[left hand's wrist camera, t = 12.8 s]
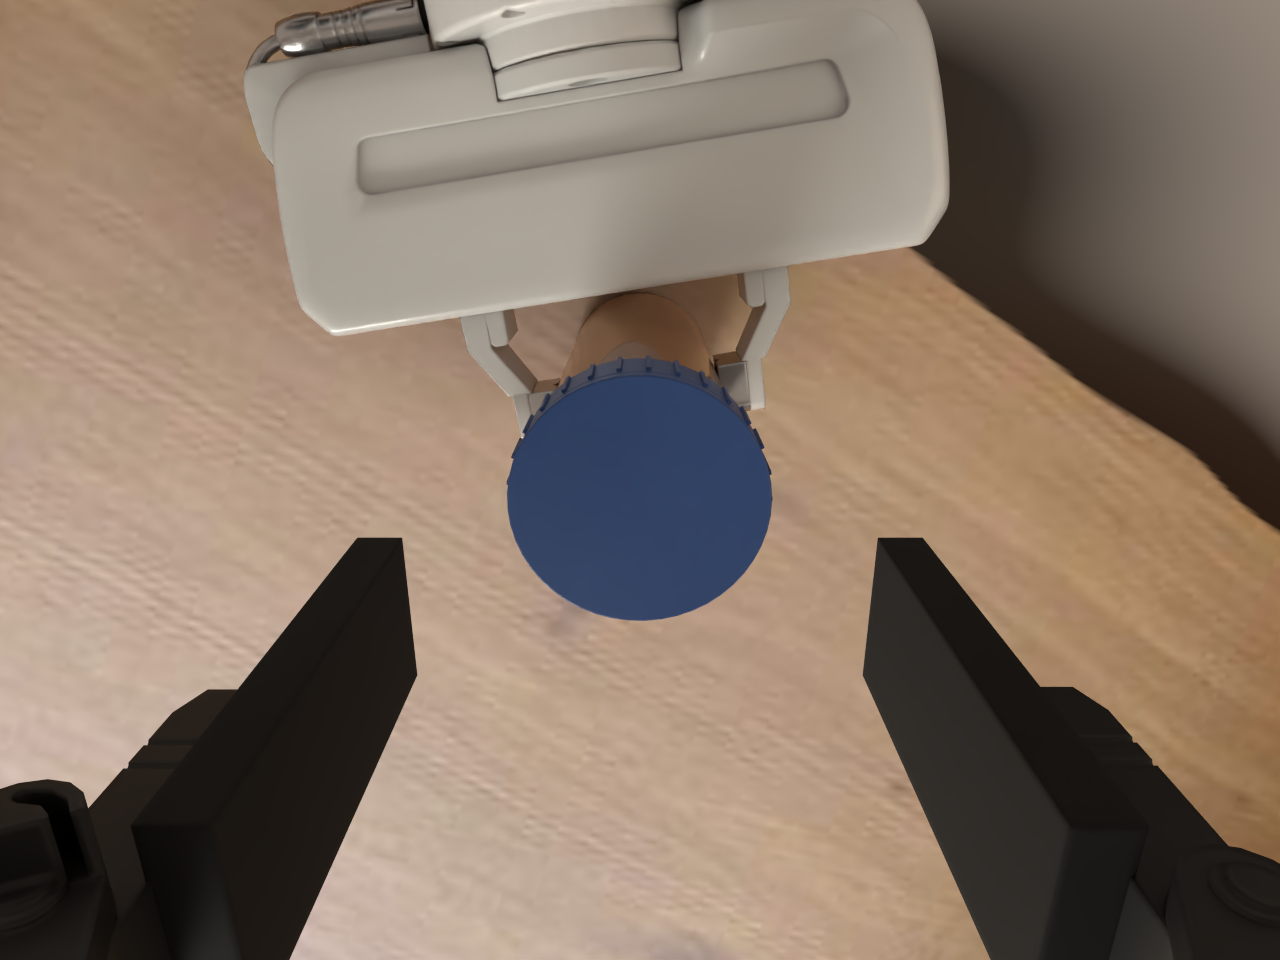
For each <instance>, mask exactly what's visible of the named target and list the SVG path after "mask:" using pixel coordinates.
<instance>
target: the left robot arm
mask: <svg viewBox="0 0 1280 960" xmlns="http://www.w3.org/2000/svg"><path fill="white" fill-rule="evenodd" d="M416 677H417V669H416V660H415V651H414V642H413V633H412V624H411V615H410V606H409V596H408V587H407V578H406V569H405V560H404V551H403V542H402V538H357V539H356V540H355V541H354V543H353V544H352V545H351V547H350V548H349V549H348V550H347V552H346V553H345V554H344V555H343V557H342V558H341V559H340V560H339V562H338V563H337V564H336V566H335V567H334V568H333V569H332V571H331V572H330V573H329V574H328V576H327V577H326V578H325V579H324V581H323V582H322V583H321V585H320V586H319V587H318V588H317V590H316V591H315V592H314V593H313V595H312V596H311V597H310V598H309V600H308V601H307V602H306V604H305V605H304V606H303V607H302V609H301V610H300V611H299V612H298V614H297V615H296V616H295V618H294V619H293V620H292V621H291V623H290V624H289V625H288V626H287V628H286V629H285V630H284V631H283V633H282V634H281V635H280V637H279V638H278V639H277V640H276V642H275V643H274V644H273V645H272V647H271V648H270V649H269V650H268V652H267V653H266V654H265V656H264V657H263V658H262V659H261V661H260V662H259V663H258V664H257V666H256V667H255V668H254V669H253V671H252V672H251V673H250V675H249V676H248V677H247V678H246V680H245V681H244V682H243V683H242V685H241V686H240V687H239V688H238V690H206V691H205V692H203V693H202V694H200V695H199V696H197V697H196V698H194V699H193V700H191V701H190V702H188V703H187V704H185V705H183V706H182V707H180V708H179V709H177V710H176V711H174V712H173V713H172V714H171V715H170V716H169V717H168V718H167V719H166V721H165V722H164V723H163V724H162V725H161V726H160V727H159V729H158V730H157V731H156V732H155V733H154V734H153V735H152V737H151V738H150V739H149V742H148V745H144V746H143V747H142V748H141V749H140V750H139V751H138V753H137V754H136V755H135V756H134V757H133V758H132V759H131V760H130V762H129V766H128V768H127V769H123V770H122V771H121V772H120V773H119V774H118V775H117V776H116V778H115V779H114V780H113V781H112V782H111V783H110V784H109V786H108V787H107V788H106V789H105V790H104V791H103V792H102V794H101V795H100V796H99V797H98V798H97V799H96V800H95V802H94V803H93V804H92V805H91V806H90V807H89V808H88V806H87V803H86V800H85V796H84V793H83V792H82V791H81V790H80V789H78V788H77V787H76V786H74V785H73V784H72V783H70V782H63V781H56V780H49V779H46V780H39V781H31V782H24V783H17V784H14V785H11V786H8V787H5V788H2V789H0V960H289V959H290V957H291V955H292V952H293V950H294V948H295V946H296V944H297V941H298V939H299V937H300V935H301V932H302V930H303V928H304V926H305V924H306V921H307V919H308V917H309V915H310V912H311V910H312V908H313V906H314V904H315V901H316V899H317V897H318V895H319V892H320V890H321V888H322V886H323V883H324V881H325V879H326V877H327V875H328V872H329V870H330V868H331V866H332V863H333V861H334V859H335V857H336V855H337V852H338V850H339V848H340V846H341V843H342V841H343V839H344V837H345V835H346V832H347V830H348V828H349V826H350V823H351V821H352V819H353V817H354V815H355V812H356V810H357V808H358V806H359V803H360V801H361V799H362V797H363V795H364V792H365V790H366V788H367V786H368V783H369V781H370V779H371V777H372V775H373V772H374V770H375V768H376V766H377V763H378V761H379V759H380V757H381V755H382V752H383V750H384V748H385V746H386V743H387V741H388V739H389V737H390V735H391V732H392V730H393V728H394V726H395V723H396V721H397V719H398V717H399V714H400V712H401V710H402V708H403V706H404V703H405V701H406V699H407V697H408V694H409V692H410V690H411V688H412V686H413V683H414V681H415V679H416ZM863 677H864V679H865V681H866V683H867V686H868V688H869V690H870V692H871V694H872V697H873V699H874V701H875V703H876V706H877V708H878V710H879V712H880V714H881V717H882V719H883V721H884V723H885V726H886V728H887V730H888V732H889V735H890V737H891V739H892V741H893V743H894V746H895V748H896V750H897V752H898V755H899V757H900V759H901V761H902V763H903V766H904V768H905V770H906V772H907V775H908V777H909V779H910V781H911V783H912V786H913V788H914V790H915V792H916V795H917V797H918V799H919V801H920V803H921V806H922V808H923V810H924V812H925V815H926V817H927V819H928V821H929V823H930V826H931V828H932V830H933V832H934V835H935V837H936V839H937V841H938V843H939V846H940V848H941V850H942V852H943V855H944V857H945V859H946V861H947V863H948V866H949V868H950V870H951V872H952V875H953V877H954V879H955V881H956V883H957V886H958V888H959V890H960V892H961V895H962V897H963V899H964V901H965V904H966V906H967V908H968V910H969V912H970V915H971V917H972V919H973V921H974V924H975V926H976V928H977V930H978V932H979V935H980V937H981V939H982V941H983V944H984V946H985V948H986V950H987V952H988V955H989V957H990V959H991V960H1280V864H1279V863H1277V862H1276V861H1274V860H1272V859H1269V858H1267V857H1264V856H1261V855H1258V854H1256V853H1253V852H1250V851H1247V850H1245V849H1242V848H1237V847H1230V846H1228V845H1227V844H1226V843H1225V842H1224V841H1223V840H1222V838H1221V837H1220V836H1219V835H1218V834H1217V833H1216V832H1215V830H1214V829H1213V828H1212V827H1211V826H1210V825H1209V824H1208V823H1207V821H1206V820H1205V819H1204V818H1203V817H1202V816H1201V815H1200V813H1199V812H1198V811H1197V810H1196V809H1195V808H1194V807H1193V806H1192V804H1191V803H1190V802H1189V801H1188V800H1187V799H1186V798H1185V796H1184V795H1183V794H1182V793H1181V792H1180V791H1179V790H1178V789H1177V787H1176V786H1175V785H1174V784H1173V783H1172V782H1171V781H1170V779H1169V778H1168V777H1167V776H1166V775H1165V774H1164V773H1163V772H1162V770H1161V769H1160V768H1159V767H1158V766H1153V764H1152V759H1151V758H1150V757H1149V756H1148V755H1147V753H1146V752H1145V751H1144V750H1143V749H1142V748H1141V747H1140V745H1139V744H1138V743H1133V741H1132V736H1131V735H1130V734H1129V733H1128V732H1127V731H1126V730H1125V729H1124V727H1123V726H1122V725H1121V724H1120V723H1119V722H1118V721H1117V719H1116V718H1115V717H1114V716H1113V715H1112V714H1111V713H1110V712H1109V710H1107V709H1106V708H1104V707H1103V706H1101V705H1100V704H1098V703H1097V702H1095V701H1093V700H1092V699H1090V698H1089V697H1087V696H1086V695H1084V694H1083V693H1081V692H1080V691H1078V690H1077V689H1075V688H1073V687H1040V686H1039V685H1038V683H1037V682H1036V681H1035V680H1034V678H1033V677H1032V676H1031V675H1030V673H1029V672H1028V671H1027V669H1026V668H1025V667H1024V666H1023V664H1022V663H1021V662H1020V661H1019V659H1018V658H1017V657H1016V656H1015V654H1014V653H1013V652H1012V650H1011V649H1010V648H1009V647H1008V645H1007V644H1006V643H1005V642H1004V640H1003V639H1002V638H1001V637H1000V635H999V634H998V633H997V631H996V630H995V629H994V628H993V626H992V625H991V624H990V623H989V621H988V620H987V619H986V618H985V616H984V615H983V614H982V612H981V611H980V610H979V609H978V607H977V606H976V605H975V604H974V602H973V601H972V600H971V598H970V597H969V596H968V595H967V593H966V592H965V591H964V590H963V588H962V587H961V586H960V585H959V583H958V582H957V581H956V579H955V578H954V577H953V576H952V574H951V573H950V572H949V571H948V569H947V568H946V567H945V566H944V564H943V563H942V562H941V560H940V559H939V558H938V557H937V555H936V554H935V553H934V552H933V550H932V549H931V548H930V547H929V545H928V544H927V543H926V541H925V540H924V539H923V538H878V542H877V551H876V560H875V569H874V578H873V587H872V596H871V605H870V615H869V624H868V633H867V642H866V651H865V660H864V669H863Z"/></svg>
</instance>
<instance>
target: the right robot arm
mask: <svg viewBox="0 0 1280 960" xmlns="http://www.w3.org/2000/svg"><path fill="white" fill-rule="evenodd" d="M362 45H363V46H362ZM352 46H358V47H352ZM344 47H352V48H347V49H342V48H344ZM336 49H341V50H336ZM279 50H281V51H282V52H283V53H284V54H285V56H287V57H292V58H290V59H284V60H279V61H273V62H267V61H268V59H269V58H270V57H271V56H272V55H273V54H274V53H276V52H278V51H279ZM332 50H335V51H332ZM266 62H267V63H266ZM243 84H244V93H245V98H246V101H247V105H248V108H249V112H250V115H251V119H252V122H253V126H254V129H255V133H256V136H257V139H258V142H259V144H260V147H261V149H262V150H263V152H264V154H265V156H266V158H267V159H268V160H269V162H270V163H271V165H272V166H273V167H274V175H275V184H276V192H277V199H278V207H279V213H280V219H281V226H282V232H283V237H284V243H285V247H286V252H287V257H288V262H289V266H290V271H291V275H292V279H293V284H294V288H295V291H296V295H297V299H298V302H299V304H300V307H301V308H302V310H303V311H304V312H305V313H306V314H307V315H308V316H309V317H310V318H311V319H313V320H314V321H315V322H316V323H317V324H318V325H320V326H321V327H322V328H323V329H325V330H326V331H327V332H329V333H330V334H332V335H334V336H343V335H350V334H357V333H363V332H369V331H376V330H382V329H388V328H395V327H401V326H408V325H414V324H420V323H427V322H433V321H439V320H446V319H452V318H458V317H460V319H461V323H462V328H463V332H464V337H465V341H466V345H467V350H468V352H469V354H470V355H471V356H472V357H473V358H474V359H475V360H476V361H477V362H478V363H479V365H480V366H481V367H482V368H483V369H484V370H485V371H486V372H487V373H488V374H489V376H490V377H491V378H492V379H493V380H494V381H495V382H496V383H497V384H498V385H499V386H500V388H501V389H502V390H503V391H504V392H505V393H506V394H507V395H508V396H509V397H510V396H513V401H514V405H515V410H516V415H517V419H518V424H519V428H520V433H521V438H523V437H524V435H525V434H524V433H522V431H523V429H524V427H525V425H526V423H527V421H528V419H529V417H530V415H531V414H532V415H535V413H536V412H537V410H538V409H539V408H540V406H541V404H542V402H543V399H544V397H545V395H546V394H547V393H549V394H550V395H551V394H552V393H553V392H554V391H555V390H556V389H557V387H558V385H559V382H560V379H552V380H544V381H537V379H536V378H535V377H534V375H533V374H532V373H531V372H530V370H529V369H528V368H527V367H526V366H525V364H524V363H523V362H522V361H521V360H520V358H519V357H518V356H517V355H516V354H515V352H514V351H513V350H512V349H511V347H510V346H509V345H508V342H509V341H510V340H511V339H512V337H513V336H514V335H515V333H516V332H517V331H518V329H517V324H516V318H515V313H514V309H516V308H522V307H528V306H535V305H541V304H548V303H554V302H560V301H567V300H573V299H579V298H586V297H592V296H598V295H605V294H611V293H618V292H624V291H630V290H637V289H643V288H649V287H656V286H662V285H668V284H675V283H681V282H687V281H694V280H700V279H707V278H713V277H719V276H726V275H732V274H737V279H738V287H739V295H740V297H741V298H742V299H743V300H744V302H745V303H746V304H747V305H748V306H750V307H753V309H752V311H751V314H750V316H749V318H748V321H747V323H746V326H745V328H744V330H743V333H742V335H741V338H740V340H739V342H738V345H737V347H736V351H734V352H728V353H723V354H717V355H713V361H714V367H715V370H716V372H717V375H718V377H719V380H720V383H721V385H722V387H723V386H725V387H726V388H727V390H728V393H729V395H730V397H731V398H732V399H733V400H734V401H735V402H736V403H737V405H738V406H739V407H741V406H743V407H744V408H745V410H746V411H750V410H756V409H763V408H765V391H764V381H763V372H762V362H761V359H762V358H765V357H766V354H767V352H768V350H769V348H770V346H771V344H772V341H773V339H774V337H775V335H776V333H777V331H778V329H779V326H780V324H781V322H782V320H783V318H784V316H785V313H786V311H787V309H788V307H789V305H790V303H791V302H790V290H789V278H788V266H789V265H796V264H802V263H808V262H815V261H821V260H827V259H834V258H840V257H847V256H853V255H859V254H866V253H872V252H878V251H885V250H891V249H897V248H903V247H910V246H916V245H919V244H922V243H924V242H925V241H926V240H927V239H928V237H929V236H930V235H931V233H932V232H933V230H934V229H935V227H936V226H937V224H938V222H939V221H940V219H941V218H942V216H943V214H944V213H945V211H946V209H947V206H948V202H949V158H948V143H947V131H946V122H945V112H944V104H943V96H942V88H941V82H940V76H939V70H938V64H937V58H936V52H935V47H934V42H933V38H932V33H931V30H930V27H929V24H928V21H927V19H926V16H925V14H924V12H923V10H922V8H921V6H920V4H919V3H918V1H917V0H373V1H369V2H365V3H361V4H360V5H359V4H358V5H356V6H353V7H352V8H350V7H349V8H346V9H343V10H339V11H335V12H329V13H324V14H321V13H319V12H305V13H300V14H295V15H292V16H289V17H286V18H284V19H282V20H280V21H278V22H277V23H276V24H275V35H272V36H270V37H269V38H267V39H266V40H264V41H263V42H262V43H261V44H260V45H259V46H258V47H257V48H256V50H255V51H254V53H253V54H252V56H251V58H250V60H249V62H248V65H247V68H246V71H245V72H244V80H243Z"/></svg>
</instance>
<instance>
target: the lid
mask: <svg viewBox="0 0 1280 960" xmlns="http://www.w3.org/2000/svg"><path fill="white" fill-rule="evenodd" d="M750 424H751V422H750V419H749V417H748V415H747V413H746V410H745V408H744V407H743V406H741V407H739V406H738V405H737V403H736V402H735V401H734V400H733V399H732V398H731V397H730V395H729V393H728V390H727V388H726V387H725V386H723V387H722V388H721V387H720V386H718V385H717V384H716V383H715V382H713V381H712V380H710V379H709V378H707V377H706V376H705V373H704V372H703V371H701V370H700V372H697V371H694V370H692V369H690V368H688V367H685V366H683V365H679V361H677V360H674V363H673V362H669V361H664V360H658V359H651V356H649V355H646V358H631V359H623V358H622V356H621V357H618V359H617V360H615V361H611V362H607V363H603V364H600V365H597V366H596V365H595V363H593V364H591V365H590V368H589V369H586V370H584V371H583V372H581V373H579V374H577V375H575V376H573V377H572V378H571V377H570V376H568V377H566V379H565V381H564V383H563V384H562V385H561V386H559V387H558V388H557V389H556V390H555V391H554V392H553V393H552V394H551V395H550V394H549V393H547V394H546V395H545V397H544V399H543V402H542V404H541V406H540V408H539V409H538V410H537V412H536V413H535V415H532V414H531V415H530V417H529V419H528V421H527V423H526V425H525V427H524V429H523V431H522V433H524V434H525V435H524V437H523V438H520V439H519V441H518V443H517V445H516V447H515V450H514V452H513V454H512V457H511V458H513V459H514V460H513V463H512V467H511V471H510V475H509V477H508V480H507V485H508V491H507V502H508V514H509V519H510V525H511V528H512V531H513V534H514V537H515V541H516V543H517V545H518V547H519V549H520V551H521V553H522V555H523V557H524V558H525V560H526V561H527V563H528V564H529V566H530V567H531V569H532V570H533V571H534V572H535V573H536V574H537V576H538V577H539V578H540V579H541V580H542V581H543V582H544V583H545V584H546V585H547V586H548V587H550V588H551V589H552V590H553V591H554V592H555V593H557V594H558V595H560V596H561V597H563V598H564V599H565V600H567V601H569V602H571V603H573V604H574V605H576V606H578V607H580V608H582V609H585V610H587V611H590V612H593V613H595V614H598V615H602V616H606V617H610V618H615V619H622V620H637V621H647V620H657V619H664V618H669V617H673V616H678V615H681V614H684V613H687V612H690V611H692V610H695V609H697V608H699V607H701V606H703V605H705V604H707V603H709V602H710V601H712V600H713V599H715V598H717V597H718V596H720V595H721V594H722V593H724V592H725V591H726V590H727V589H729V588H730V587H731V586H732V585H733V584H734V583H735V582H736V581H737V580H738V579H739V578H740V577H741V576H742V575H743V574H744V573H745V571H746V570H747V569H748V567H749V566H750V564H751V563H752V562H753V560H754V559H755V557H756V555H757V553H758V551H759V549H760V548H761V546H762V543H763V540H764V538H765V535H766V532H767V529H768V525H769V520H770V516H771V505H772V490H771V480H770V475H771V470H770V467H769V465H768V463H767V461H766V458H765V456H764V454H763V452H762V450H761V449H763V448H764V445H763V443H762V441H761V439H760V437H759V434H758V432H757V430H756V428H755V429H752V427H751V426H750Z"/></svg>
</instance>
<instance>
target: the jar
mask: <svg viewBox="0 0 1280 960" xmlns="http://www.w3.org/2000/svg"><path fill="white" fill-rule="evenodd" d="M646 355H649V356H651V359H658V360H664V361H669V362H673V363H674V360H677V361H679V365H683V366H685V367H688V368H690V369H692V370H694V371H697V372H700V370H701V371H703V372H704V373H705V376H706V377H707V378H709V379H710V380H712V381H713V382H715V383H716V384H717V385H718V386H720V387H721V388H722V385H721V383H720V380H719V377H718V375H717V372H716V370H715V367H714V365H713V362H712V360H711V357H710V354H709V352H708V349H707V347H706V344H705V342H704V339H703V337H702V334H701V332H700V330H699V328H698V326H697V324H696V323H695V321H694V320H693V319H692V317H691V316H690V315H689V314H688V313H687V312H686V311H685V310H684V309H683V308H681V307H680V306H679V305H677V304H676V303H674V302H673V301H671V300H669V299H666V298H664V297H661V296H658V295H654V294H648V293H633V294H626V295H622V296H619V297H616V298H614V299H611V300H610V301H608V302H606V303H604V304H603V305H601V306H600V307H599V308H597V309H596V310H595V311H594V312H593V313H592V314H591V315H590V316H589V318H588V319H587V320H586V321H585V323H584V325H583V326H582V328H581V330H580V332H579V335H578V337H577V340H576V342H575V345H574V347H573V350H572V352H571V355H570V357H569V360H568V362H567V365H566V367H565V370H564V372H563V375H562V377H561V380H560V382H559V385H558V387H559V386H561V385H562V384H563V383H564V381H565V379H566V377H568V376H570V377H571V378H572V377H573V376H575V375H577V374H579V373H581V372H583V371H584V370H586V369H589V368H590V365H591V364H593V363H595V365H596V366H597V365H600V364H603V363H607V362H611V361H615V360H617V359H618V357H621V356H622V358H623V359H631V358H646ZM558 387H557V388H558Z"/></svg>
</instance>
